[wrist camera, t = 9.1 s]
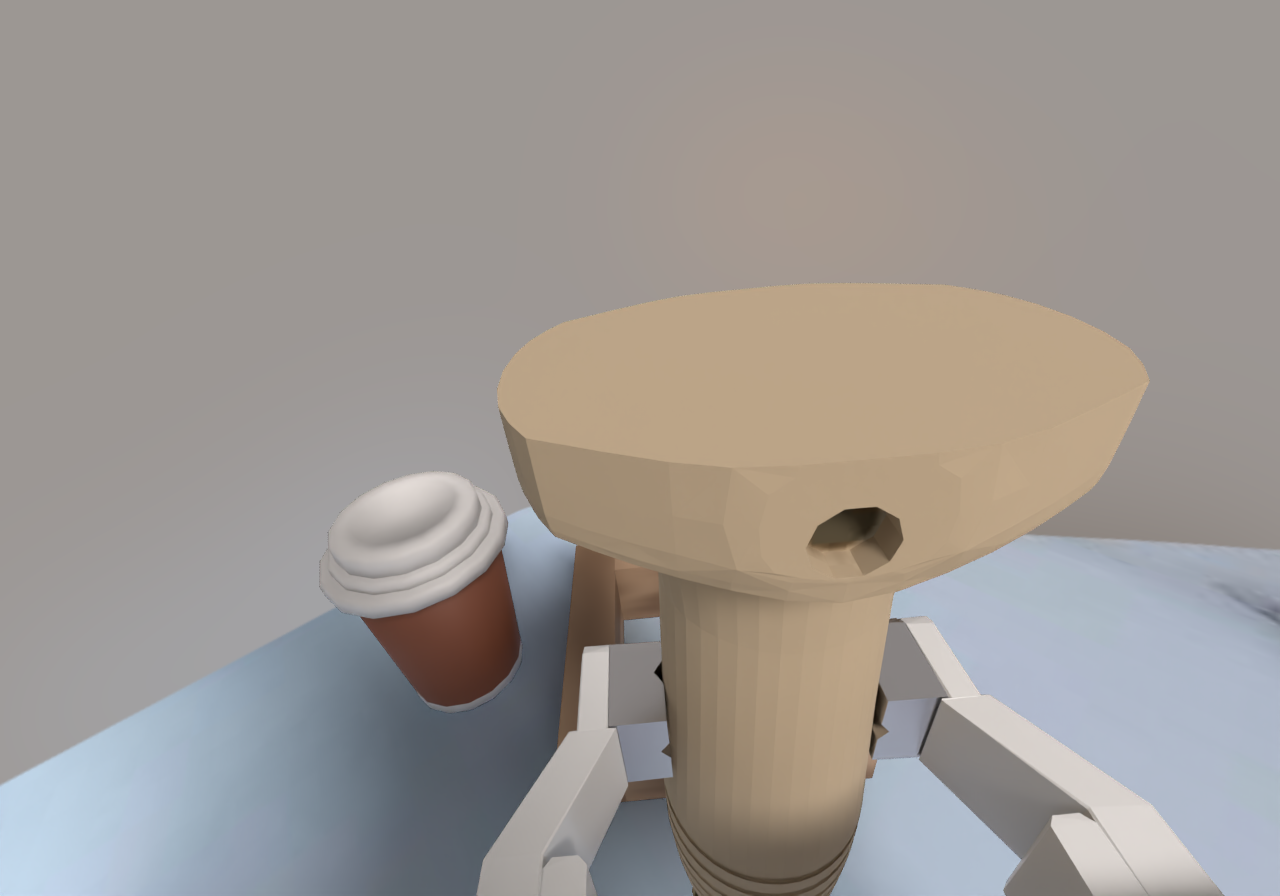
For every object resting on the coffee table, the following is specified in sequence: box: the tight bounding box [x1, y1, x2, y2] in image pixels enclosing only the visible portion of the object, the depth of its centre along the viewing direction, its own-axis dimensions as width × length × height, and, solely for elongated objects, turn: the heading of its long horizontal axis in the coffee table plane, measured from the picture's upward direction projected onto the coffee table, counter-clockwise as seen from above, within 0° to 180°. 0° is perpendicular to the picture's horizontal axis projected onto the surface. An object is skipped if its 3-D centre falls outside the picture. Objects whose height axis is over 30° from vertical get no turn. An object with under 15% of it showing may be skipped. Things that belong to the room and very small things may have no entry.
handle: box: [497, 283, 1150, 896], centre depth 10 cm, size 5×6×15 cm
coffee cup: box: [320, 471, 523, 713], centre depth 28 cm, size 9×9×12 cm
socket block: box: [557, 545, 877, 802], centre depth 28 cm, size 14×13×4 cm
